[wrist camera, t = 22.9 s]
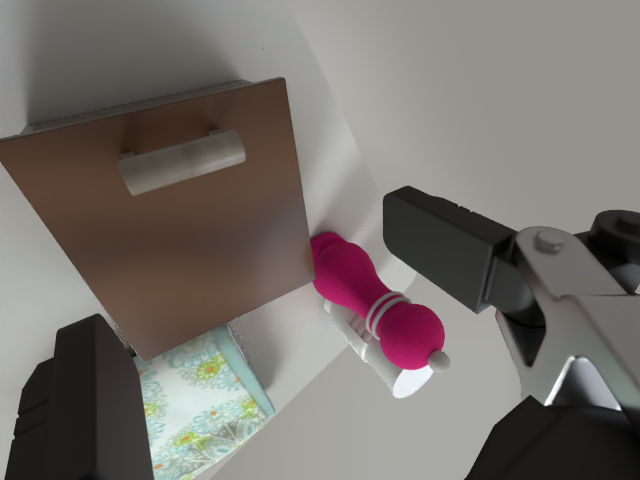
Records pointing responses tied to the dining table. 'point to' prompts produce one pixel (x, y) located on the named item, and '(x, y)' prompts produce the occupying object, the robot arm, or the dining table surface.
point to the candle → (375, 351)
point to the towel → (200, 404)
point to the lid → (174, 208)
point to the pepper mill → (378, 305)
